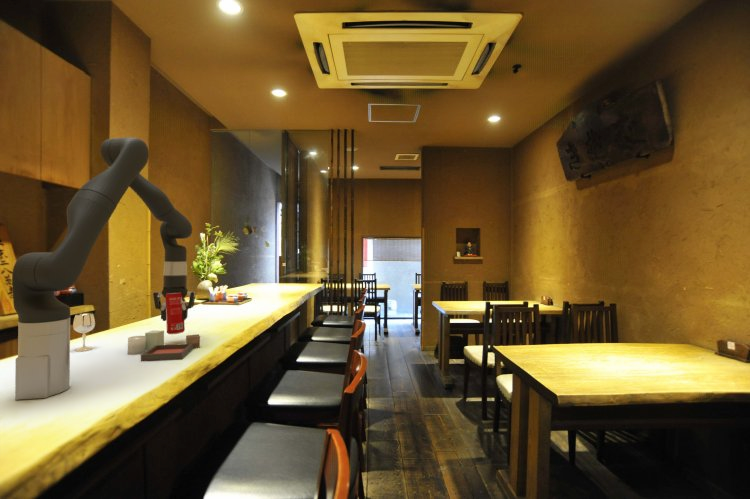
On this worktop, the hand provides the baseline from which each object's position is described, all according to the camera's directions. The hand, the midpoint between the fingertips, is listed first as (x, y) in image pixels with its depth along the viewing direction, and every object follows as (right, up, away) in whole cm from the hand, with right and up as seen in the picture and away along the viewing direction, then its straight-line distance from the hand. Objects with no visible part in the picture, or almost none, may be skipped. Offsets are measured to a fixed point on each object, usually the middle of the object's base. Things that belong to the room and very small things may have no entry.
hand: (174, 320), depth 133 cm
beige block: (-6, -8, -12) cm, 16 cm away
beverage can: (0, -5, 0) cm, 5 cm away
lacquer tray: (+6, -8, -15) cm, 18 cm away
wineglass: (-26, -8, -9) cm, 29 cm away
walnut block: (+9, -9, -5) cm, 14 cm away
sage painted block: (-2, -8, -8) cm, 12 cm away
